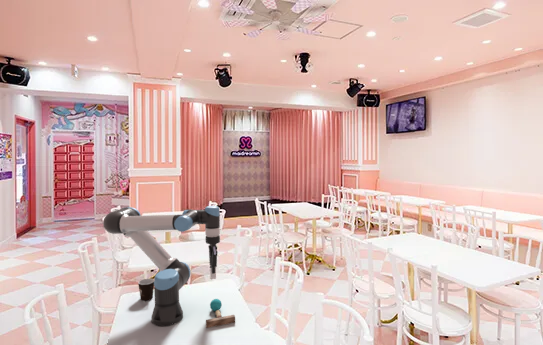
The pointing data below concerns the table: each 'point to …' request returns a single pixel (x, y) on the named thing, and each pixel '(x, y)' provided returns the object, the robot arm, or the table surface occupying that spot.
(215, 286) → the table surface
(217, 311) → the pin
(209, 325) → the back wall
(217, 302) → the ball
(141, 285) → the coffee mug
